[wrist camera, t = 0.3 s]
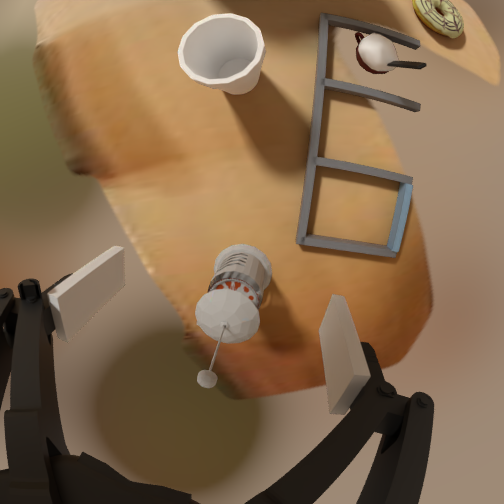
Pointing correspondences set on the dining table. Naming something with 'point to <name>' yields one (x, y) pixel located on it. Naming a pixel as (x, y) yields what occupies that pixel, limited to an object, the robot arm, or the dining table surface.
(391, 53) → the cocoa
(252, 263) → the french press
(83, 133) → the dining table surface
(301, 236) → the organizer
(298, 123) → the dining table surface
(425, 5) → the decorated donut
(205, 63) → the foam cup
